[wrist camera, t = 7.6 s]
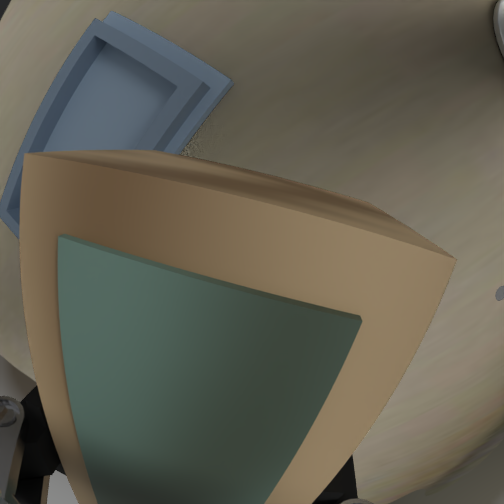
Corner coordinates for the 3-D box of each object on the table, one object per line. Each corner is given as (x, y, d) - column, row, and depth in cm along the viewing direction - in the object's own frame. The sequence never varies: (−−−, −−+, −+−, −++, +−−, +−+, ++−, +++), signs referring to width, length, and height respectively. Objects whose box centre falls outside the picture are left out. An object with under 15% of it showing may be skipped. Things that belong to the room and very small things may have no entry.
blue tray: (234, 83, 21) (225, 72, 18) (92, 295, 27) (73, 309, 24) (118, 15, 20) (99, 2, 17) (11, 213, 26) (-10, 219, 23)
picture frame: (368, 202, 8) (462, 263, 3) (249, 492, 12) (233, 578, 7) (154, 150, 8) (17, 153, 3) (131, 457, 13) (92, 534, 8)
